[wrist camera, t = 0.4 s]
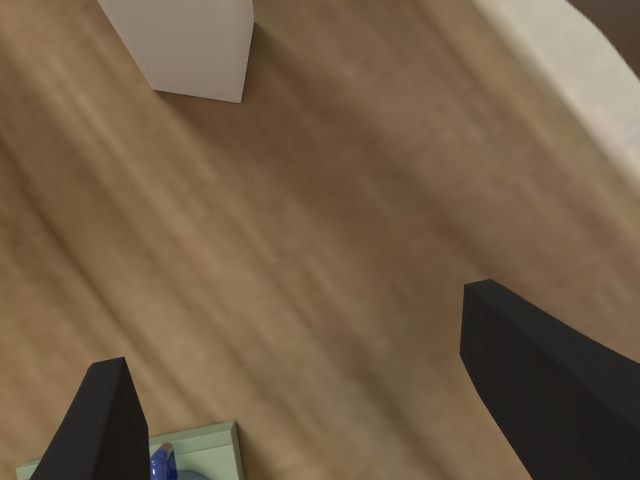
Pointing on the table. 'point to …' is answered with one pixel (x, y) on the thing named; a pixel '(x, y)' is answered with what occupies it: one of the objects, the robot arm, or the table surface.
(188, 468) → the step rack
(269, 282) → the table surface
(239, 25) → the milk
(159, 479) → the jug
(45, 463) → the robot arm
